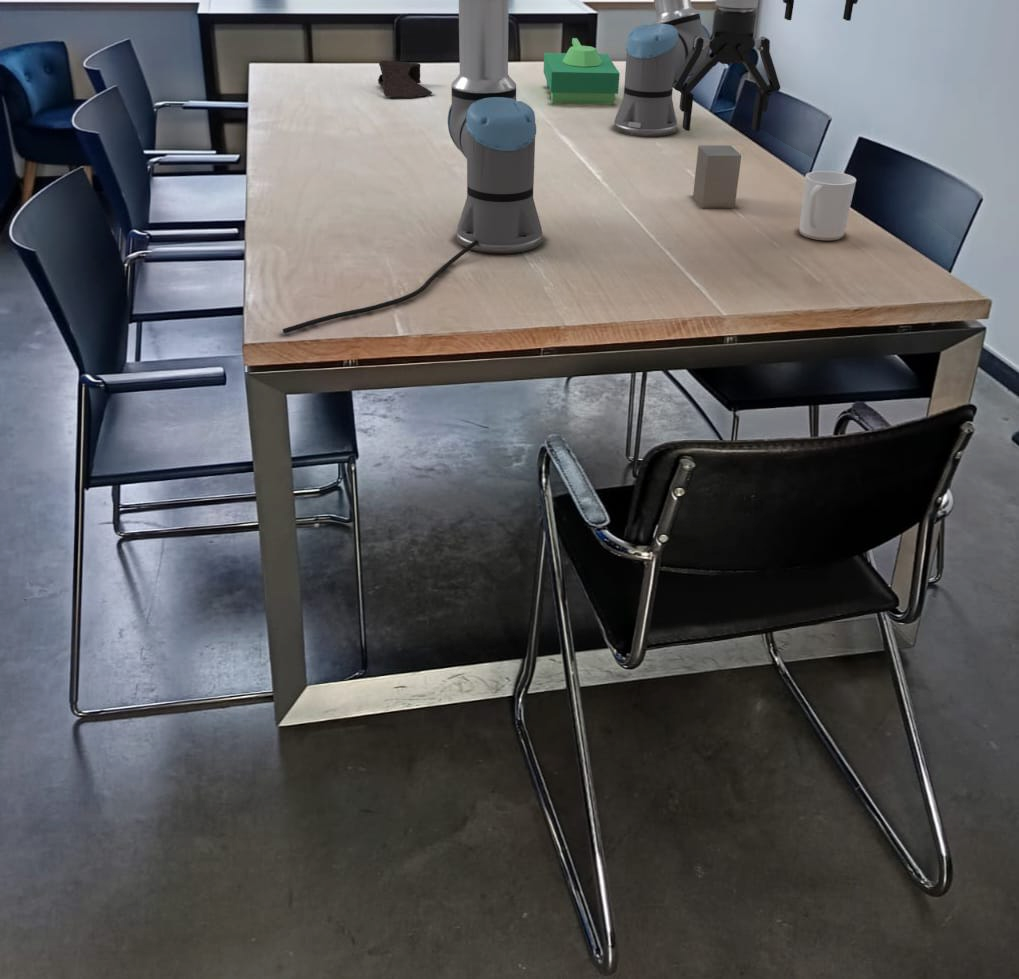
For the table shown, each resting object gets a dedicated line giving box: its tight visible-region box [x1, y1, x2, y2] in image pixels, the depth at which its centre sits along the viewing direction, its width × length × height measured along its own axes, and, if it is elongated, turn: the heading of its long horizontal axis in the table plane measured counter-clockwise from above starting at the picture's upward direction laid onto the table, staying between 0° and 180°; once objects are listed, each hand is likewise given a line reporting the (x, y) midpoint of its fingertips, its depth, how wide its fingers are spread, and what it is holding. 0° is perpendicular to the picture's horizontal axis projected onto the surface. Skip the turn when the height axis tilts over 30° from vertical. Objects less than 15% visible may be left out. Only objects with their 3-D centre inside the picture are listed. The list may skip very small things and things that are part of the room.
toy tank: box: [543, 37, 620, 105], centre depth 300 cm, size 18×12×35 cm
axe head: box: [377, 59, 433, 99], centre depth 299 cm, size 18×8×15 cm
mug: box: [798, 170, 857, 241], centre depth 199 cm, size 11×9×10 cm
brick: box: [692, 144, 742, 209], centre depth 216 cm, size 8×7×10 cm
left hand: (720, 129), depth 209 cm, fingers open, 13 cm apart
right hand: (817, 19), depth 244 cm, fingers open, 13 cm apart
